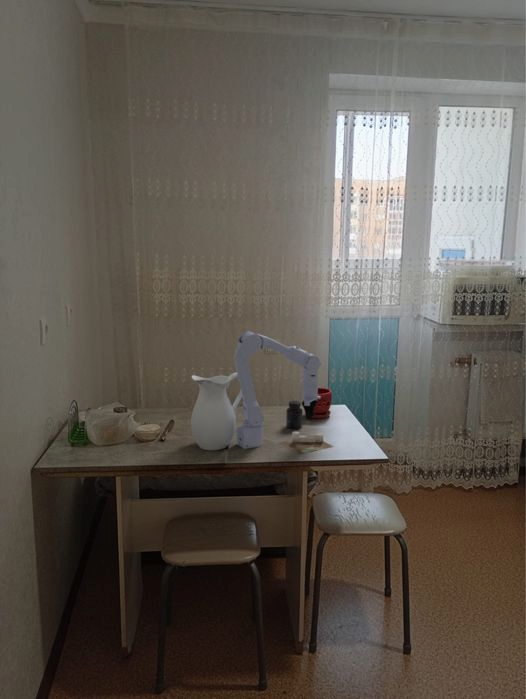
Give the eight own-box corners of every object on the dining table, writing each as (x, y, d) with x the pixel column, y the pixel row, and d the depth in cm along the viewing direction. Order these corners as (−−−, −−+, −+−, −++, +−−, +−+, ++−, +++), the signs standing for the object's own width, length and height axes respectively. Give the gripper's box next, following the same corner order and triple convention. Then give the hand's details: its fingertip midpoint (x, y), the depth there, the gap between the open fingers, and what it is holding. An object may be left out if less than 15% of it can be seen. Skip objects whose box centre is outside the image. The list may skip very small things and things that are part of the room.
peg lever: (292, 442, 202) (292, 434, 201) (291, 439, 205) (292, 431, 205) (323, 442, 202) (324, 434, 202) (322, 439, 205) (322, 431, 205)
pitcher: (204, 456, 192) (202, 382, 187) (184, 443, 206) (182, 373, 201) (259, 444, 205) (259, 374, 200) (236, 432, 219) (236, 366, 214)
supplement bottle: (283, 430, 221) (283, 402, 219) (290, 426, 227) (290, 399, 225) (298, 433, 218) (298, 405, 216) (304, 428, 224) (305, 401, 222)
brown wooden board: (299, 457, 192) (299, 453, 191) (278, 445, 203) (278, 442, 203) (334, 449, 200) (334, 446, 199) (312, 438, 212) (312, 435, 211)
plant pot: (328, 411, 249) (329, 386, 247) (333, 419, 236) (334, 393, 234) (300, 411, 248) (301, 386, 246) (304, 420, 235) (305, 394, 233)
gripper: (317, 390, 196) (317, 425, 198) (323, 381, 210) (322, 414, 212) (299, 389, 198) (298, 423, 200) (305, 380, 211) (305, 412, 214)
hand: (309, 418), depth 206 cm, fingers closed
